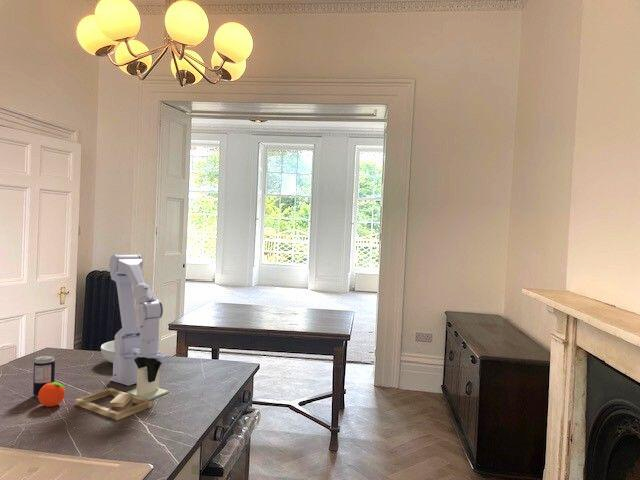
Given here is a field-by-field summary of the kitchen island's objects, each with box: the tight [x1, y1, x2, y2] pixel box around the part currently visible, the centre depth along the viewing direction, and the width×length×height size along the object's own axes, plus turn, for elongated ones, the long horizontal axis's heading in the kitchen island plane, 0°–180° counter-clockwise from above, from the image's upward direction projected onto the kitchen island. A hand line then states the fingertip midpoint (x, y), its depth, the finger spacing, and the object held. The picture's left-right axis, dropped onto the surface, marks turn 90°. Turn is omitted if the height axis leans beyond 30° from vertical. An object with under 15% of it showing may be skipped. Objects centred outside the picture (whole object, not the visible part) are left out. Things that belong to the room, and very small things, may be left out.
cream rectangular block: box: [136, 366, 161, 395], centre depth 150 cm, size 2×7×8 cm, turn 151°
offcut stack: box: [109, 394, 134, 412], centre depth 137 cm, size 4×7×4 cm, turn 1°
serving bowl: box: [100, 339, 117, 364], centre depth 182 cm, size 21×21×7 cm
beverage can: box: [32, 354, 56, 399], centre depth 145 cm, size 6×6×12 cm
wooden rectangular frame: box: [75, 387, 153, 421], centre depth 140 cm, size 19×12×2 cm, turn 61°
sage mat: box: [125, 387, 170, 401], centre depth 150 cm, size 10×8×1 cm
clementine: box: [38, 381, 67, 407], centre depth 138 cm, size 8×7×7 cm
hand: (148, 380), depth 150 cm, fingers open, 3 cm apart
